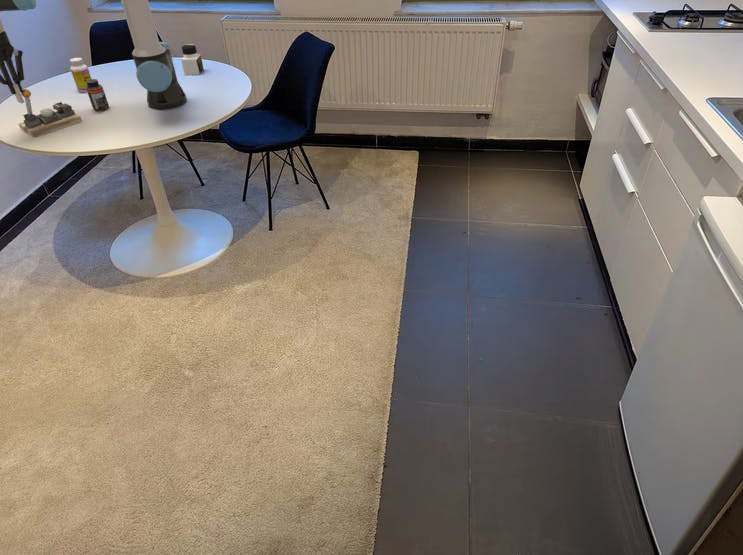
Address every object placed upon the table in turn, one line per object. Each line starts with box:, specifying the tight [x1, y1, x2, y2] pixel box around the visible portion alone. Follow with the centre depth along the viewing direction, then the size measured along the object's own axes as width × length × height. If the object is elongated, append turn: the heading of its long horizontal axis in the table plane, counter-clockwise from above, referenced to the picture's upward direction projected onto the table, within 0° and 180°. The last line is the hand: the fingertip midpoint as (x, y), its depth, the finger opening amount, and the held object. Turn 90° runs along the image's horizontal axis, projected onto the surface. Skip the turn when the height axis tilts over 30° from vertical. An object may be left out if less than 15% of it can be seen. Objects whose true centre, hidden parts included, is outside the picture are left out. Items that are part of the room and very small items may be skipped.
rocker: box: [52, 103, 73, 111], centre depth 205 cm, size 4×5×2 cm
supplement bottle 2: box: [86, 78, 110, 112], centre depth 212 cm, size 6×6×11 cm
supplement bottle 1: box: [69, 57, 92, 93], centre depth 230 cm, size 7×7×13 cm
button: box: [39, 108, 54, 118], centre depth 202 cm, size 4×4×2 cm
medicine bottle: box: [180, 43, 205, 76], centre depth 244 cm, size 7×7×12 cm
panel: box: [18, 101, 83, 138], centre depth 202 cm, size 12×18×6 cm, turn 140°
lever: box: [21, 88, 33, 116], centre depth 196 cm, size 3×3×11 cm
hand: (21, 102), depth 194 cm, fingers closed
